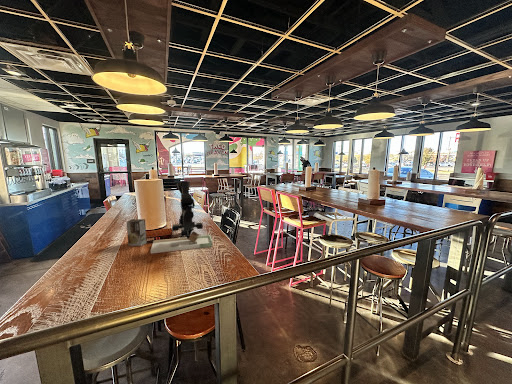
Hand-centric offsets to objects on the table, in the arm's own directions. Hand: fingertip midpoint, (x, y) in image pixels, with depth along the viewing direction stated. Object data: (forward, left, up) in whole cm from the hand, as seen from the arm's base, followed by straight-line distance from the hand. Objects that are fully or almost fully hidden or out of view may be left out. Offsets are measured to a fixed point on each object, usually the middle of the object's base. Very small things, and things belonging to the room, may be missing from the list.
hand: (188, 239), depth 138 cm
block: (+2, +2, 0) cm, 3 cm away
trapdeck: (+2, -3, -4) cm, 5 cm away
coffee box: (-11, -32, -4) cm, 34 cm away
